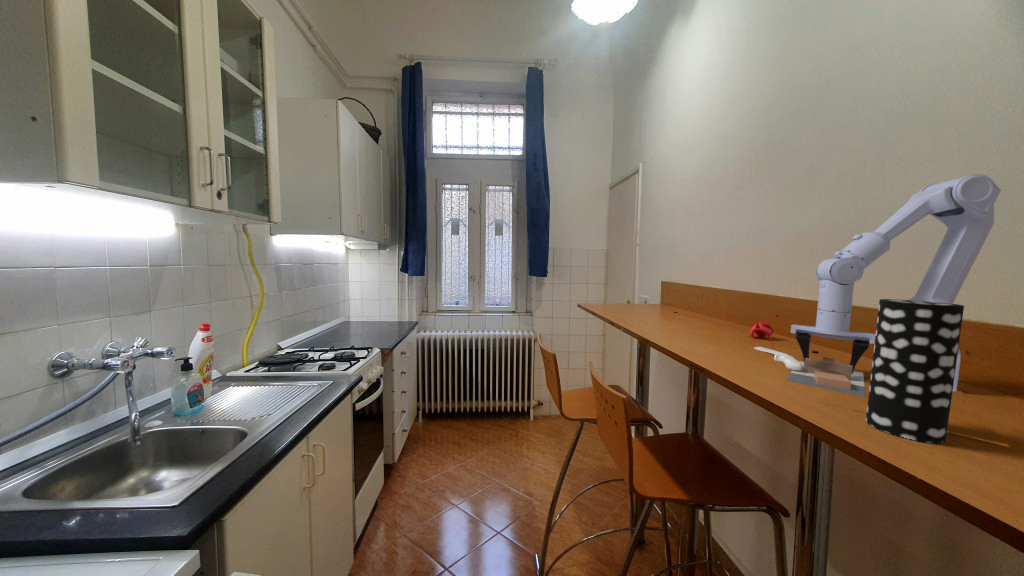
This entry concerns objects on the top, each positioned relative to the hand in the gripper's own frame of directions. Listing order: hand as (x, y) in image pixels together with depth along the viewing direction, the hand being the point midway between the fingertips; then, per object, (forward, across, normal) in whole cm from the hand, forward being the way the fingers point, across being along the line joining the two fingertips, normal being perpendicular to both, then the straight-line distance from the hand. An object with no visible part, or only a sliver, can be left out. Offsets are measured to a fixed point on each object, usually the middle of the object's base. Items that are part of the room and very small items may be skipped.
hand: (827, 368), depth 81 cm
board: (+1, 0, +4) cm, 4 cm away
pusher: (+1, 0, 0) cm, 1 cm away
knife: (+1, +12, -8) cm, 14 cm away
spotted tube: (+2, -10, +28) cm, 30 cm away
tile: (+1, -1, +10) cm, 10 cm away
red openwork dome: (+2, +18, -36) cm, 40 cm away
